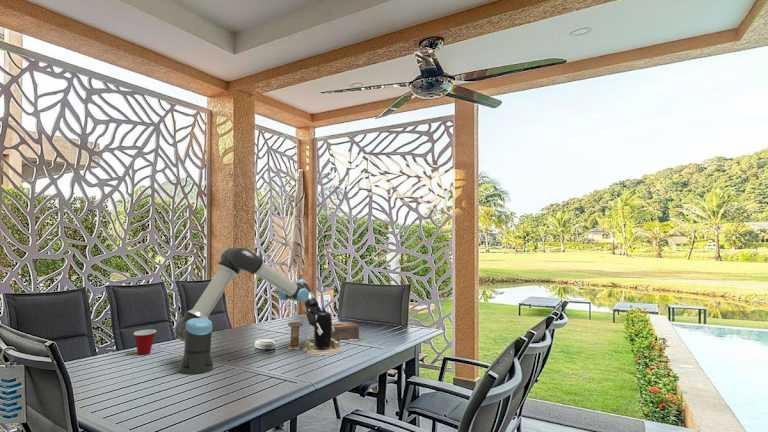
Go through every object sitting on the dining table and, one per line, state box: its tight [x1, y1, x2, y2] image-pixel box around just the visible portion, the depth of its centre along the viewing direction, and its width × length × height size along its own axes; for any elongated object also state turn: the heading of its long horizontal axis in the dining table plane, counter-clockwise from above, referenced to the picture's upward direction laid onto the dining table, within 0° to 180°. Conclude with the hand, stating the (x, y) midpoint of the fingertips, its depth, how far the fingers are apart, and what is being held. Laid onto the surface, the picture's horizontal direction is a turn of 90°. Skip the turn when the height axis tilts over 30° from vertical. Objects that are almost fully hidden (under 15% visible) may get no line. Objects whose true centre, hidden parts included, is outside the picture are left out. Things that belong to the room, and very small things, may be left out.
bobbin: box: [286, 321, 304, 350], centre depth 247 cm, size 8×8×14 cm
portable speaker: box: [315, 311, 333, 348], centre depth 240 cm, size 9×9×20 cm
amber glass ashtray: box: [301, 338, 344, 355], centre depth 240 cm, size 18×19×6 cm
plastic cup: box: [133, 328, 157, 356], centre depth 224 cm, size 11×11×12 cm
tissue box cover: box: [313, 321, 360, 341], centre depth 272 cm, size 26×14×10 cm, turn 121°
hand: (327, 332), depth 238 cm, fingers closed on portable speaker, 9 cm apart
